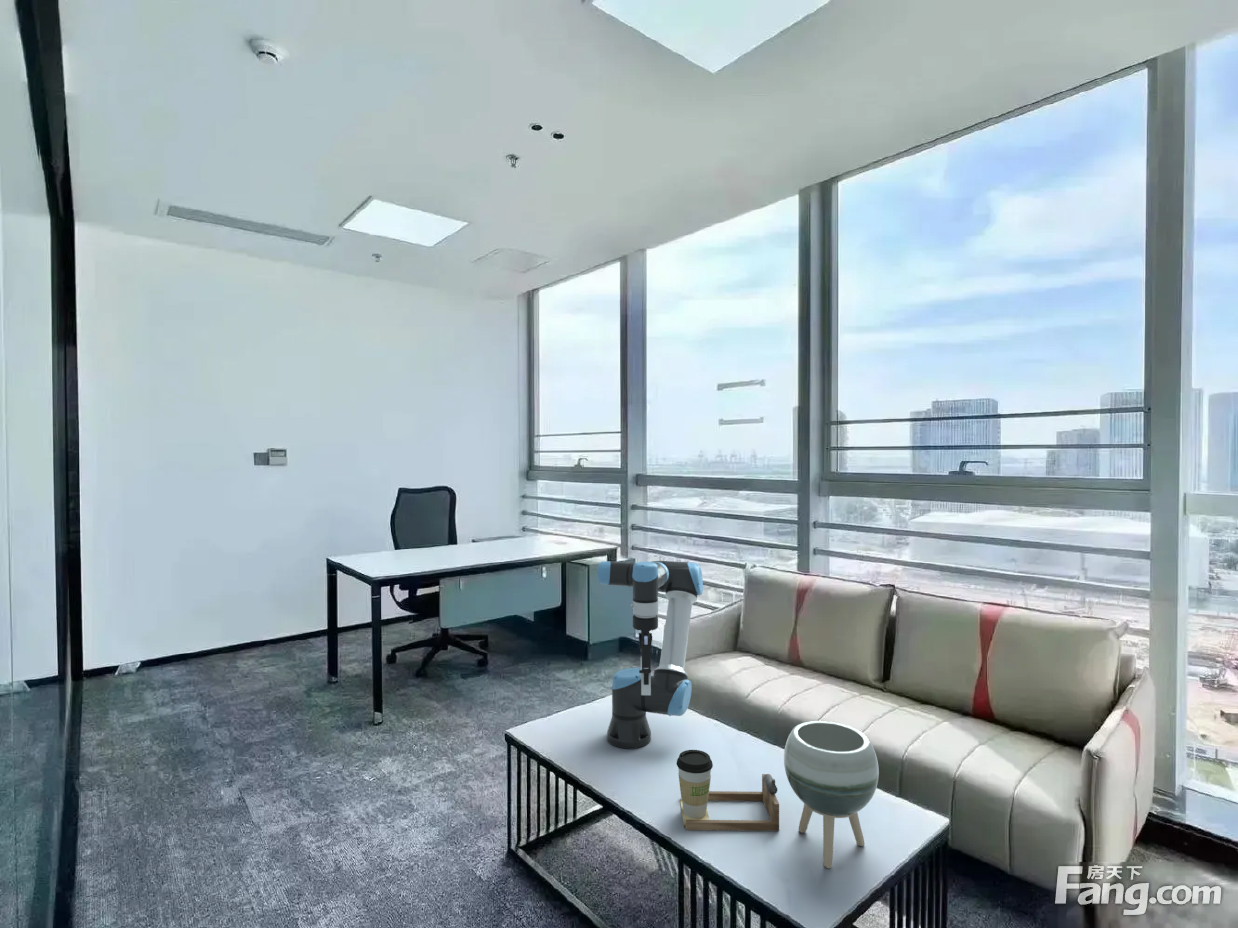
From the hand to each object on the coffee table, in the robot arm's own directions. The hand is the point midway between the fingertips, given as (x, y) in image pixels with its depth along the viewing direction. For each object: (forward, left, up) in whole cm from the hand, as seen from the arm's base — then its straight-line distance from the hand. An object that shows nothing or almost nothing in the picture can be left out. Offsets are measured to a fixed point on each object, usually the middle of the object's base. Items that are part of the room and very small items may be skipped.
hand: (645, 685), depth 183 cm
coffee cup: (+16, +13, -29) cm, 35 cm away
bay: (+16, +22, -29) cm, 40 cm away
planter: (+30, +45, -29) cm, 61 cm away
